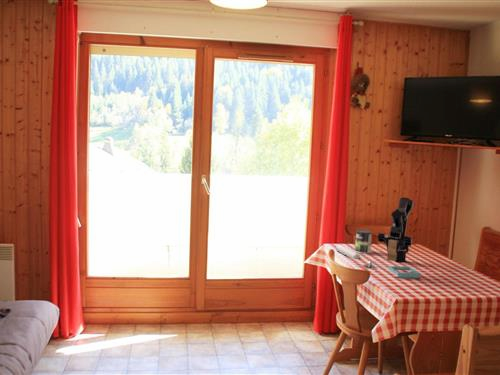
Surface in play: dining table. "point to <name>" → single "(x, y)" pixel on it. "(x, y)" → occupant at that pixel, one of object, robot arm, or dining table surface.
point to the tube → (347, 251)
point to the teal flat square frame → (405, 275)
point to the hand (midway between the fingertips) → (392, 251)
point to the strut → (392, 250)
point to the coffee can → (363, 241)
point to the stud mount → (370, 266)
